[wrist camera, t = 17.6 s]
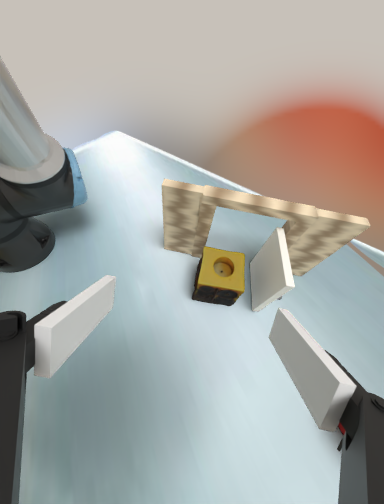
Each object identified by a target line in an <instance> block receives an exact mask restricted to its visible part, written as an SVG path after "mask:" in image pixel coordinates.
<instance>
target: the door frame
mask: <svg viewBox="0 0 384 504" xmlns="http://www.w3.org/2000/svg"><path fill="white" fill-rule="evenodd" d="M162 202H163V225H164V249H166V250H171V251H177V252H182V253H187V254H192V256H194V257H199V258H201V256H202V253H203V248H204V247H205V245H206V241H207V238H208V234H209V230H210V227H211V223H212V220H213V216H214V213H215V209H216V206H219V207H224V208H229V209H234V210H239V211H244V212H249V213H254V214H259V215H265V216H270V217H275V218H280V219H285V220H287V222H286V223H285V224H284V225H283V227H282V228H284V233H285V238H286V243H287V249H288V254H289V259H290V264H291V270H292V275H297V276H302V275H304V274H305V273H307V272H308V271H309V270H311V269H312V268H313V267H315V266H316V265H318V264H319V263H320V262H322V261H323V260H325V259H326V258H327V257H329V256H330V255H331V254H333V253H334V252H336V251H337V250H338V249H340V248H341V247H343V246H344V245H345V244H347V243H348V242H349V241H351V240H352V239H354V238H355V237H356V236H358V235H359V234H360V233H362V232H363V231H364V230H366V229H367V228H369V227H370V224H369V221H368V220H367V218H362V217H357V216H352V215H346V214H342V213H337V212H332V211H327V210H321V209H316V207H315V206H309V205H304V204H299V203H294V202H289V201H284V200H279V199H274V198H269V197H264V196H259V195H253V194H248V193H243V192H238V191H233V190H228V189H223V188H218V187H213V186H208V185H205V187H204V186H199V185H194V184H189V183H184V182H179V181H173V180H168V179H164V181H163V183H162Z"/></svg>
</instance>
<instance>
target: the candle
mask: <svg viewBox="0 0 384 504" xmlns="http://www.w3.org/2000/svg"><path fill="white" fill-rule="evenodd" d="M244 266H245V255H244V254H243V253H238V252H230V251H225V250H220V249H215V248H211V247H206V246H205V247H204V248H203V253H202V256H201V259H200V260H199V264H198V267H197V273H196V278H195V284H194V286H195V290H194V292H193V296H192V299H193V300H197V301H202V302H207V303H214V304H222V305H226V306H231V305H233V304H234V303H235V302H236V300H237V299H238V298H239V296H241V294H243V293H244V290H245V280H244Z"/></svg>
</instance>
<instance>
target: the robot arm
mask: <svg viewBox="0 0 384 504" xmlns="http://www.w3.org/2000/svg"><path fill="white" fill-rule="evenodd" d="M86 201H87V192H86V188H85V185H84V182H83V179H82V176H81V172H80V169H79V166H78V163H77V160H76V158H75V155H74V153H73V151H72V150H71V149H69V148H62V147H61V145H60V144H59V143H58V142H57V141H56V140H55V139H54V138H52V137H51V136H49V135H47V134H44V132H43V131H42V129H41V127H40V125H39V124H38V122H37V120H36V118H35V117H34V115H33V113H32V111H31V110H30V108H29V106H28V104H27V103H26V101H25V99H24V97H23V96H22V94H21V92H20V90H19V89H18V87H17V85H16V83H15V82H14V80H13V78H12V76H11V75H10V73H9V71H8V69H7V68H6V66H5V64H4V62H3V61H2V59H1V57H0V271H2V272H17V271H22V270H25V269H28V268H30V267H33V266H35V265H36V264H38V263H40V262H41V261H42V260H44V259H45V258H46V257H47V256H48V255H49V254H50V252H51V251H52V249H53V247H54V244H55V236H54V234H53V232H52V231H51V230H50V229H49V227H48V226H46V225H45V224H44V223H42V222H40V221H38V220H37V219H35V218H33V216H37V215H41V214H46V213H50V212H55V211H59V210H63V209H68V208H73V207H75V206H77V205H81V204H84V203H85V202H86ZM115 283H116V277H115V276H110V275H106V276H104V277H103V278H101V279H100V280H99V281H97V282H96V283H94V284H93V285H91V286H90V287H88V288H87V289H86V290H84V291H83V292H81V293H80V294H78V295H77V296H75V297H74V298H73V299H71V300H70V301H68V302H67V301H61V302H59V303H56V304H53V305H52V306H50V307H49V308H47V309H46V310H44V311H42V312H41V313H40V314H38V315H36V316H35V317H33V318H31V319H30V320H28V321H27V322H26V314H25V313H23V312H21V311H6V312H1V313H0V504H18V503H19V488H20V472H21V457H22V441H23V426H24V410H25V394H26V379H27V372H28V371H29V370H30V369H31V368H32V367H33V366H34V375H35V376H40V377H45V378H51V377H52V376H53V375H54V373H55V372H56V371H57V370H58V369H59V368H60V367H61V366H62V364H63V363H64V362H65V361H66V360H67V359H68V358H69V357H70V355H71V354H72V353H73V352H74V351H75V350H76V349H77V348H78V346H79V345H80V344H81V343H82V342H83V341H84V340H85V339H86V337H87V336H88V335H89V334H90V333H91V332H92V331H93V330H94V328H95V327H96V326H97V325H98V324H99V323H100V322H101V321H102V319H103V318H104V317H105V316H106V315H107V314H108V313H109V312H110V310H111V309H112V308H113V302H114V292H115ZM269 339H270V341H271V343H272V344H273V346H274V348H275V350H276V352H277V354H278V355H279V357H280V359H281V361H282V363H283V364H284V366H285V368H286V370H287V372H288V373H289V375H290V377H291V379H292V381H293V382H294V384H295V386H296V388H297V390H298V391H299V393H300V395H301V397H302V399H303V400H304V402H305V404H306V406H307V408H308V409H309V411H310V413H311V415H312V417H313V419H314V420H315V422H316V424H317V426H318V428H319V429H321V430H327V431H332V432H335V431H336V429H337V427H338V425H339V422H340V423H341V425H342V426H343V428H344V429H345V431H346V432H345V434H344V436H343V438H342V440H341V442H340V444H339V446H338V448H337V450H339V451H340V450H341V449H342V456H341V470H340V484H339V499H338V504H384V399H383V398H381V397H379V396H377V395H375V394H372V393H368V392H367V391H366V390H365V389H364V388H363V387H362V386H361V385H360V384H359V383H358V382H357V381H356V380H355V379H354V377H353V376H352V375H351V374H350V373H349V372H347V370H346V369H345V368H344V367H343V366H342V365H341V363H340V362H339V361H338V360H337V359H336V358H335V357H334V356H332V355H331V354H330V353H328V352H327V351H326V350H324V349H323V348H322V347H321V346H320V345H319V344H318V343H317V342H316V341H315V339H314V338H313V337H312V336H311V335H310V334H309V333H308V332H307V331H306V329H305V328H304V327H303V326H302V325H301V324H300V323H299V322H298V321H297V320H296V318H295V317H294V316H293V315H292V314H291V313H290V312H289V311H288V310H286V309H281V308H278V310H277V313H276V317H275V320H274V323H273V326H272V329H271V332H270V335H269Z"/></svg>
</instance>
